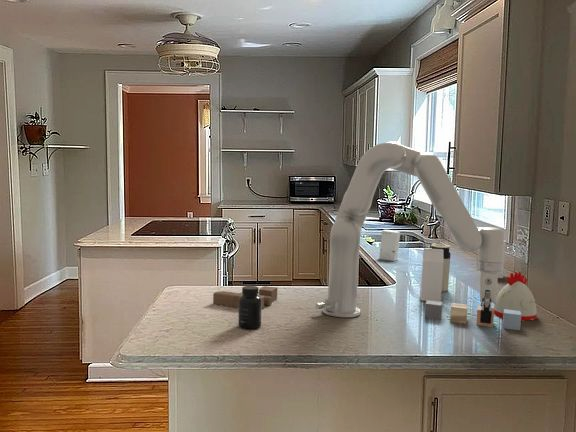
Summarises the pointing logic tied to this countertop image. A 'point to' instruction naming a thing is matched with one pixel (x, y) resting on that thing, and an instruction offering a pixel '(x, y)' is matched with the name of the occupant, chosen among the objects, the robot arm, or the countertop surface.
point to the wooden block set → (232, 299)
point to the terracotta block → (480, 315)
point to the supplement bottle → (250, 308)
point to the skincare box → (389, 245)
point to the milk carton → (432, 275)
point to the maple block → (458, 313)
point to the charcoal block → (433, 310)
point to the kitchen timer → (516, 298)
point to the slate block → (511, 319)
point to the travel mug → (444, 264)
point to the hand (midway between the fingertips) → (485, 318)
